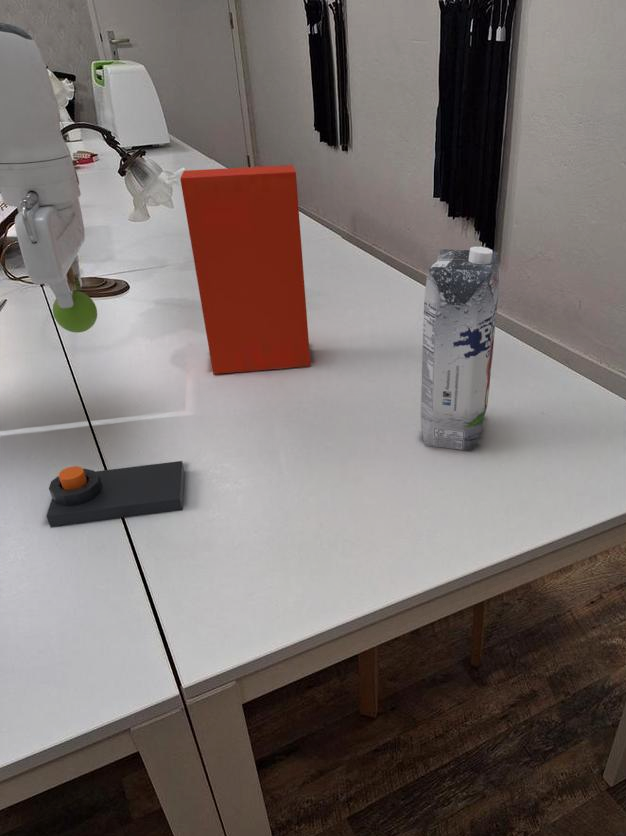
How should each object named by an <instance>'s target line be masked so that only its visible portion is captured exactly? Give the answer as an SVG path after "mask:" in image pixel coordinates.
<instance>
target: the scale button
mask: <svg viewBox="0 0 626 836" xmlns="http://www.w3.org/2000/svg"><path fill="white" fill-rule="evenodd" d="M84 469H85V468H83V467H82V466H78V465H75V466H73V465H72V466H68V467H66V468H63V469H62V470H61V471H60V472H59V473H58V476H59V479H60V482H61V485H62V487H63V489H65V490H73V489H78V488H80V487H83V486H84V485H85V484H86V483H87V479H86V475H85V472H84Z"/></svg>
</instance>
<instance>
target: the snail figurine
mask: <svg viewBox="0 0 626 836" xmlns="http://www.w3.org/2000/svg"><path fill="white" fill-rule="evenodd" d="M66 275H67V282H68V285H69V288H70V290H72V293H73V297H74V300H75V301H74V304H73V306H72V307H70V308H61V307H59V306H58V302H57V299H56V298H55V299H54V302H53V305H52V314H53V317H54V319H55V321H56V323H57V324H58V325H59V326H60V327H61V328H62V329H63V330H66V331H68V332H71V333H84V332H86V331H88V330H90V329H91V328H93V326H94V325H95V323H96V322H97V319H98V308H97V306H96V304H95V302H94V300H93V299H92V298H91V297H90V296H89V295H87V294H86V293H84V292H82V291H80V290H74V286H75V279H74V273H73V267H72V265H71V267H70V269H69V270H68V272H67V274H66Z"/></svg>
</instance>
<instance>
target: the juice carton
mask: <svg viewBox="0 0 626 836" xmlns="http://www.w3.org/2000/svg"><path fill="white" fill-rule="evenodd" d="M499 268H500V264H499V252H497V251H494V250H493V249H491V248H489V247H484V246H472V247H470V248H469V249H449V248H448V249H447V248H446V249H445V248H441V249H440V250H439V252H438V254H437V259H436V261H435V262H433V263H432V264H431V265H430V266H429V267H428V270H427V272H426V273H427V274H426V282H425V289H424V298H423V319H422V320H423V323H422V324H423V325H422V355H421V356H422V359H421V384H420V385H421V386H420V387H421V388H420V389H421V390H420V391H421V392H420V425H421V432H422V433H421V434H422V439H423V443H424V445H425V446H427V447H435V448H443V449H452V450H460V451H468V452H472V451H474V450H475V448H476V445H477V443H478V441H479V438H480V435H481V431H482V429H483V425H484V420H485V416H486V413H487V408H488V403H489V395H490V386H491V385H490V384H491V374H492V364H493V355H494V345H495V344H494V343H495V334H496V323H497V314H498V303H499V291H500V269H499Z"/></svg>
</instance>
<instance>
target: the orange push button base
mask: <svg viewBox="0 0 626 836" xmlns="http://www.w3.org/2000/svg"><path fill="white" fill-rule="evenodd" d="M83 469H84V472H85V475H86V479H87V483H86V484H85V485H84V486H83V487H80V488H78V489H73V490H65V489H63V487H62V485H61V482H60V479H59V475H57V476H56V477H55V478H53V479H52V480H51V481H50V483H49V486H48V492H49V493H50V496H51V501H50V503H49V506H48V510H47V513H46V519H47V522H48V524H49V527H50V529H51V528H59V527H60V528H61V527H66V526H74V525H81V524H88V523H96V522H105V521H111V520H118V519H126V518H134V517H141V516H149V515H156V514H164V513H171V512H180V511H183V509H184V508H183V507H184V494H185V493H184V491H185V474H186V473H185V467H184V462H183V461H182V460H178V461H177V460H176V461H171V462H170V461H169V462H161V463H151V464H144V465H137V466H136V465H135V466H129V467H119V468H113V469H112V468H111V469H104V470H96V471H95V470H92V469H89V468H83Z"/></svg>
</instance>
